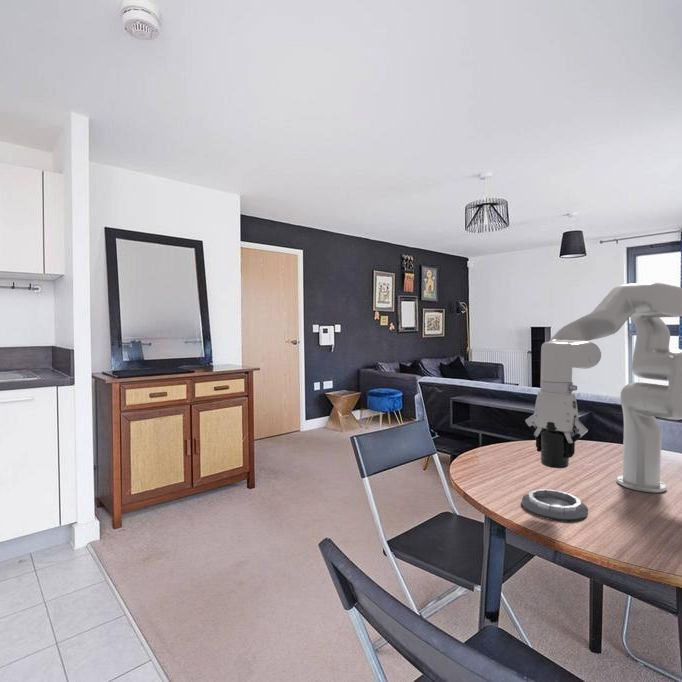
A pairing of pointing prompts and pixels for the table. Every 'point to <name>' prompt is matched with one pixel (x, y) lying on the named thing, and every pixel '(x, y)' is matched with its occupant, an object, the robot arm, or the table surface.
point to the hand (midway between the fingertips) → (554, 453)
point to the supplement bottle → (553, 447)
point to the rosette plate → (554, 515)
